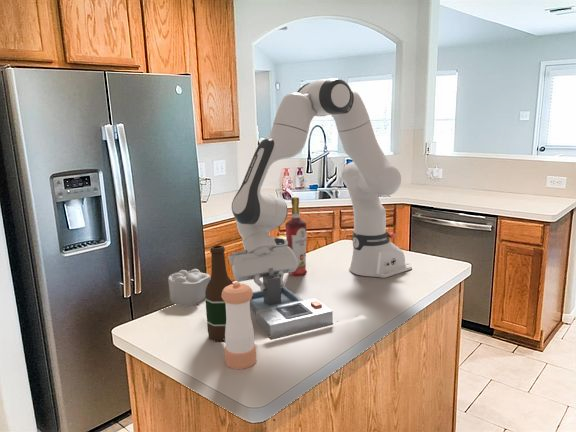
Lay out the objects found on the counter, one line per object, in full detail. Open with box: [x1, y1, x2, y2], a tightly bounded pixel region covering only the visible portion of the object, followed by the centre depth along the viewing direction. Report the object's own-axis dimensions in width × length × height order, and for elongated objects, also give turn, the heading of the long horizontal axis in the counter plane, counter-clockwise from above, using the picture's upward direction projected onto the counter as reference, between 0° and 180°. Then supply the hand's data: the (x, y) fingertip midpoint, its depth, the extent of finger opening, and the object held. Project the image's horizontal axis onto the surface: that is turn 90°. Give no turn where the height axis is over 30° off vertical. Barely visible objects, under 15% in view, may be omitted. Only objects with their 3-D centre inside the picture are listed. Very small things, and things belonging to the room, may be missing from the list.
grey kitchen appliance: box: [255, 298, 334, 341], centre depth 123 cm, size 18×10×5 cm, turn 115°
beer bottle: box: [204, 244, 234, 343], centre depth 116 cm, size 8×8×24 cm
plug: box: [262, 268, 281, 306], centre depth 136 cm, size 4×4×10 cm
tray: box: [250, 285, 304, 313], centre depth 137 cm, size 14×14×2 cm
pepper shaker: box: [221, 281, 257, 370], centre depth 104 cm, size 7×7×19 cm
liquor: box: [284, 196, 308, 277], centre depth 159 cm, size 7×7×28 cm
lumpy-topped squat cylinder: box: [168, 268, 211, 307], centre depth 144 cm, size 10×13×9 cm
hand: (272, 288), depth 135 cm, fingers closed on plug, 4 cm apart
